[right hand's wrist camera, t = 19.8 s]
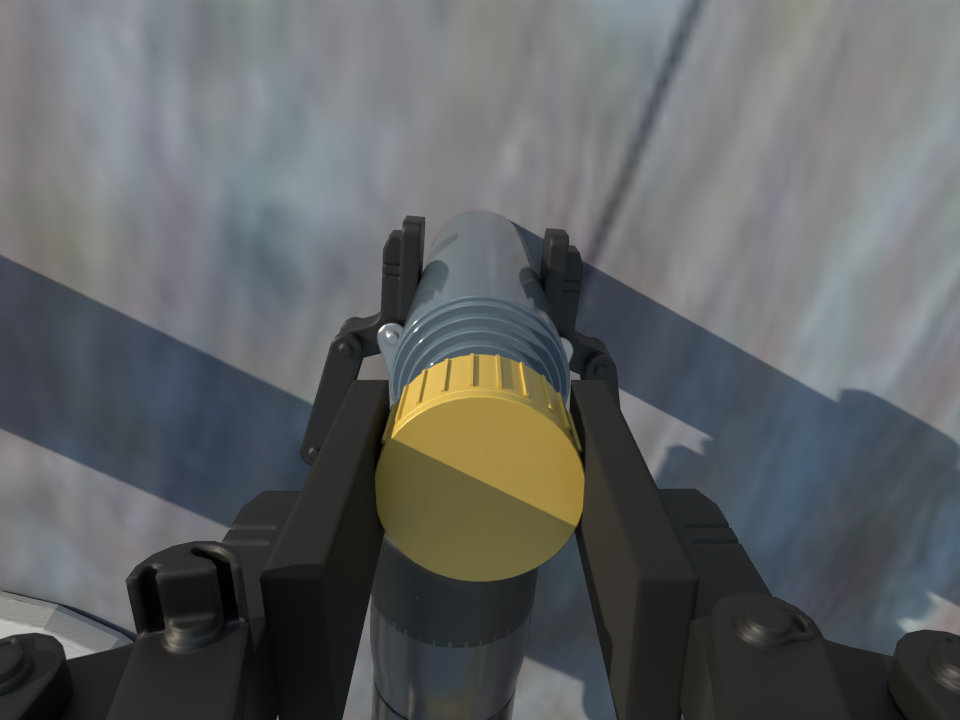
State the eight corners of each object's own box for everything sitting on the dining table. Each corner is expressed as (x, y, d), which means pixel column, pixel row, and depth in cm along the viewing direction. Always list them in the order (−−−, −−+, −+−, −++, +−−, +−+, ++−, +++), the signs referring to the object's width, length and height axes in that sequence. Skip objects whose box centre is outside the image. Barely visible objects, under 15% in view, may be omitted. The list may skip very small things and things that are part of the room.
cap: (365, 492, 15) (346, 553, 13) (415, 327, 14) (404, 365, 12) (536, 539, 16) (545, 606, 13) (601, 384, 14) (622, 430, 12)
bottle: (545, 282, 33) (639, 522, 14) (458, 324, 34) (430, 609, 14) (502, 192, 31) (537, 319, 12) (412, 239, 32) (311, 428, 13)
